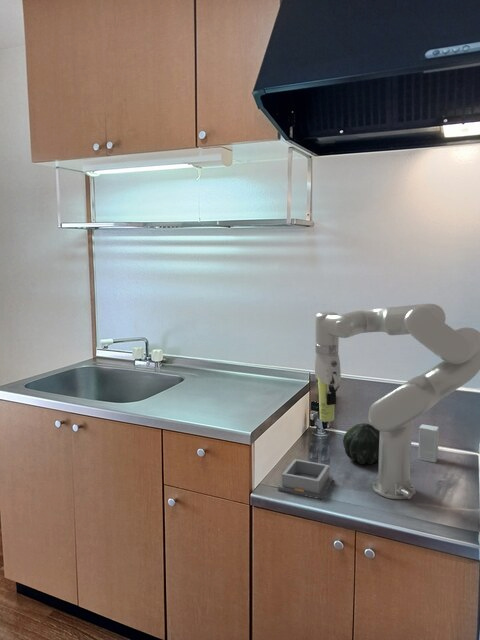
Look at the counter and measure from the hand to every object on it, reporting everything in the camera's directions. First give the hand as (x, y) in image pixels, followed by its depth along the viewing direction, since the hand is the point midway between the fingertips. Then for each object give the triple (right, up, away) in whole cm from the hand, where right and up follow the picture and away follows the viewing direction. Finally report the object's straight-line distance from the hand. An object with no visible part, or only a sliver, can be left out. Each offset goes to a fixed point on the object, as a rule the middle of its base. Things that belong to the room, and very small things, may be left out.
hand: (326, 401), depth 168 cm
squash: (+15, -23, +11) cm, 30 cm away
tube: (0, -7, +1) cm, 7 cm away
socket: (-8, -26, -7) cm, 28 cm away
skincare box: (+38, -22, +10) cm, 45 cm away
